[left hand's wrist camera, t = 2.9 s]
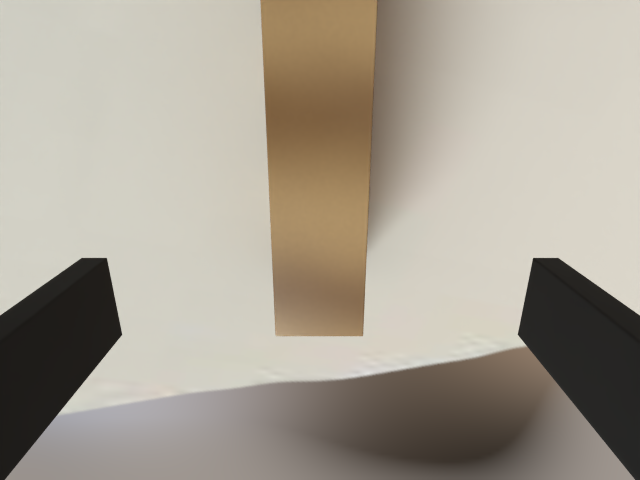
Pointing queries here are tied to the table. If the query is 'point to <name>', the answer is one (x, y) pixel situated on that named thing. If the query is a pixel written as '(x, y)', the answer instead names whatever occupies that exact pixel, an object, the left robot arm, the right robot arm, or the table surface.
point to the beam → (319, 159)
